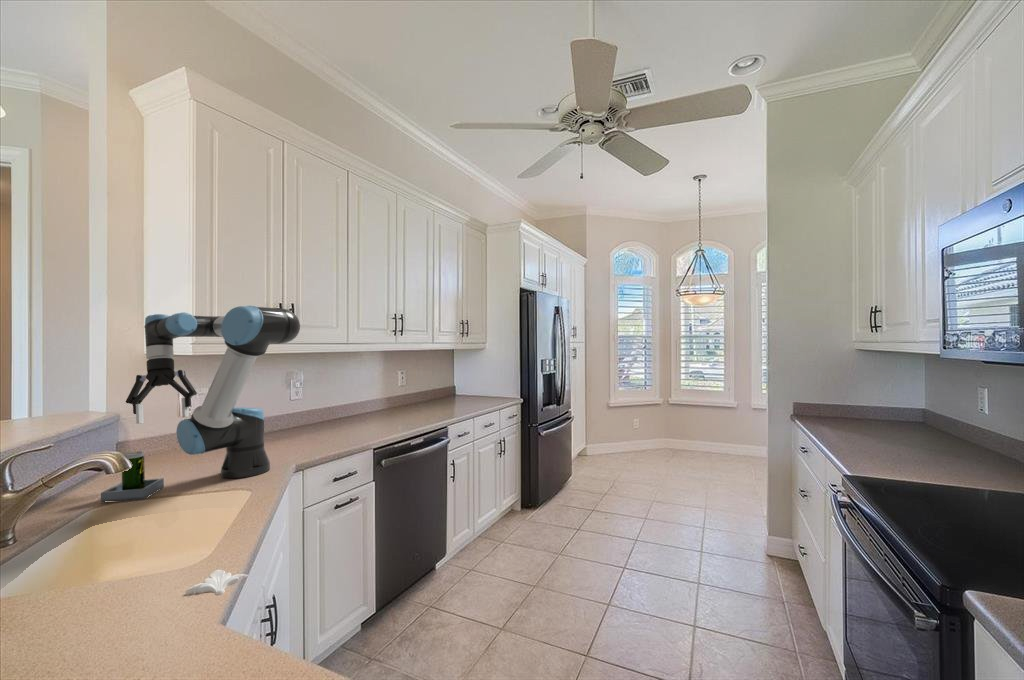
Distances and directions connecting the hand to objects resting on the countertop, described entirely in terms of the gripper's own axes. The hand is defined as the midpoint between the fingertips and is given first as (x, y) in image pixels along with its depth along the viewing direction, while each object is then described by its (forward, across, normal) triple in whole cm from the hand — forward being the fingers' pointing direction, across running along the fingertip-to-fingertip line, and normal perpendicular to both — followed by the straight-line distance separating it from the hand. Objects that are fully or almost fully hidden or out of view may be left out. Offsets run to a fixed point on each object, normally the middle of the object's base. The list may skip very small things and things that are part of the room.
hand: (163, 420), depth 152 cm
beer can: (+22, +3, +12) cm, 25 cm away
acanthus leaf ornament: (+39, -43, +74) cm, 94 cm away
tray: (+22, +3, +12) cm, 26 cm away
